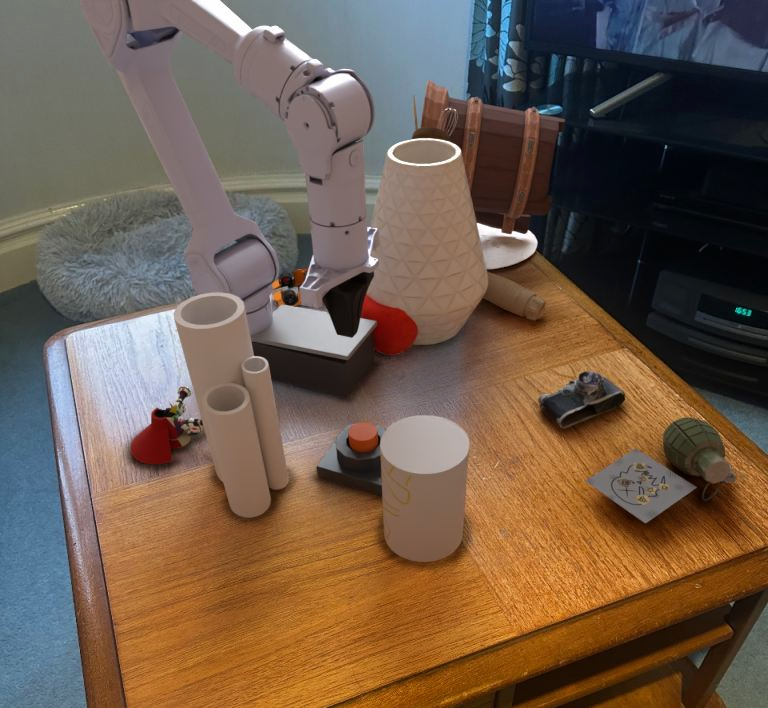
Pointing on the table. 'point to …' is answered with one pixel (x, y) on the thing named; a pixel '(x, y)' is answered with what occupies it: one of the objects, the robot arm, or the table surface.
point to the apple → (389, 327)
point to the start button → (363, 437)
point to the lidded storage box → (318, 367)
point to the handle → (514, 297)
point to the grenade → (697, 451)
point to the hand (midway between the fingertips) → (347, 333)
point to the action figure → (165, 432)
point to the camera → (582, 399)
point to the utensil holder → (431, 128)
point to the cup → (424, 486)
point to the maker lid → (311, 333)
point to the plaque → (505, 246)
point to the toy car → (289, 288)
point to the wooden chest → (499, 156)
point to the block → (353, 464)
